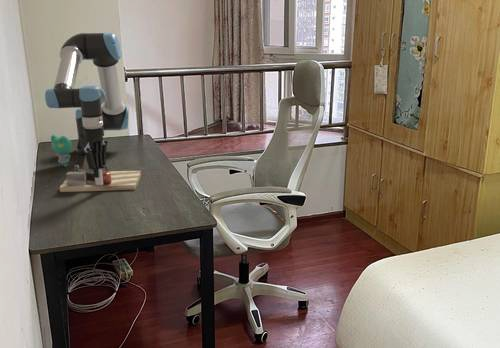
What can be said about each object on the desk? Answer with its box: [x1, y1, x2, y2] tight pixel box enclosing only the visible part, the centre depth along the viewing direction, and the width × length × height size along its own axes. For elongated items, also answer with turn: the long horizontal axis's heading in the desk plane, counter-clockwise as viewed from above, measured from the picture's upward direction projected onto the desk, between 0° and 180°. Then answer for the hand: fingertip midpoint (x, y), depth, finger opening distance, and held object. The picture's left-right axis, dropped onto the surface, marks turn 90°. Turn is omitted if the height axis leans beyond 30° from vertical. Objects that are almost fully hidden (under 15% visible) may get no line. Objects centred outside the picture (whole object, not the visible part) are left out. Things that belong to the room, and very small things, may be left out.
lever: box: [77, 168, 111, 184], centre depth 206 cm, size 4×18×4 cm, turn 59°
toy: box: [50, 134, 73, 168], centre depth 231 cm, size 9×8×15 cm
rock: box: [82, 156, 104, 172], centre depth 225 cm, size 14×10×8 cm
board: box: [59, 164, 142, 193], centre depth 209 cm, size 19×30×7 cm, turn 95°
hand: (99, 184), depth 199 cm, fingers closed
